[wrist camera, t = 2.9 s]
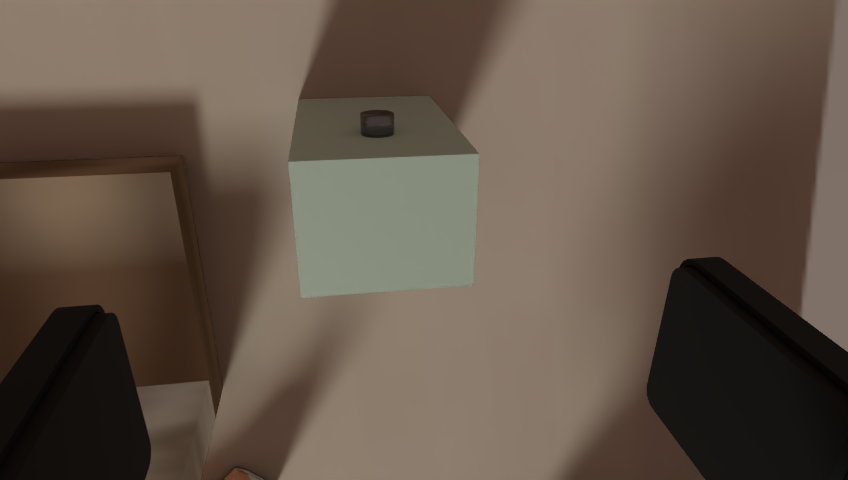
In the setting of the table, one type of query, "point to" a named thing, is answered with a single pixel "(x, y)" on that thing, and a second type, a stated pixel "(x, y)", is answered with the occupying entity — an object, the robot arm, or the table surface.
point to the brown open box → (117, 284)
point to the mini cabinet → (381, 196)
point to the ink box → (241, 475)
